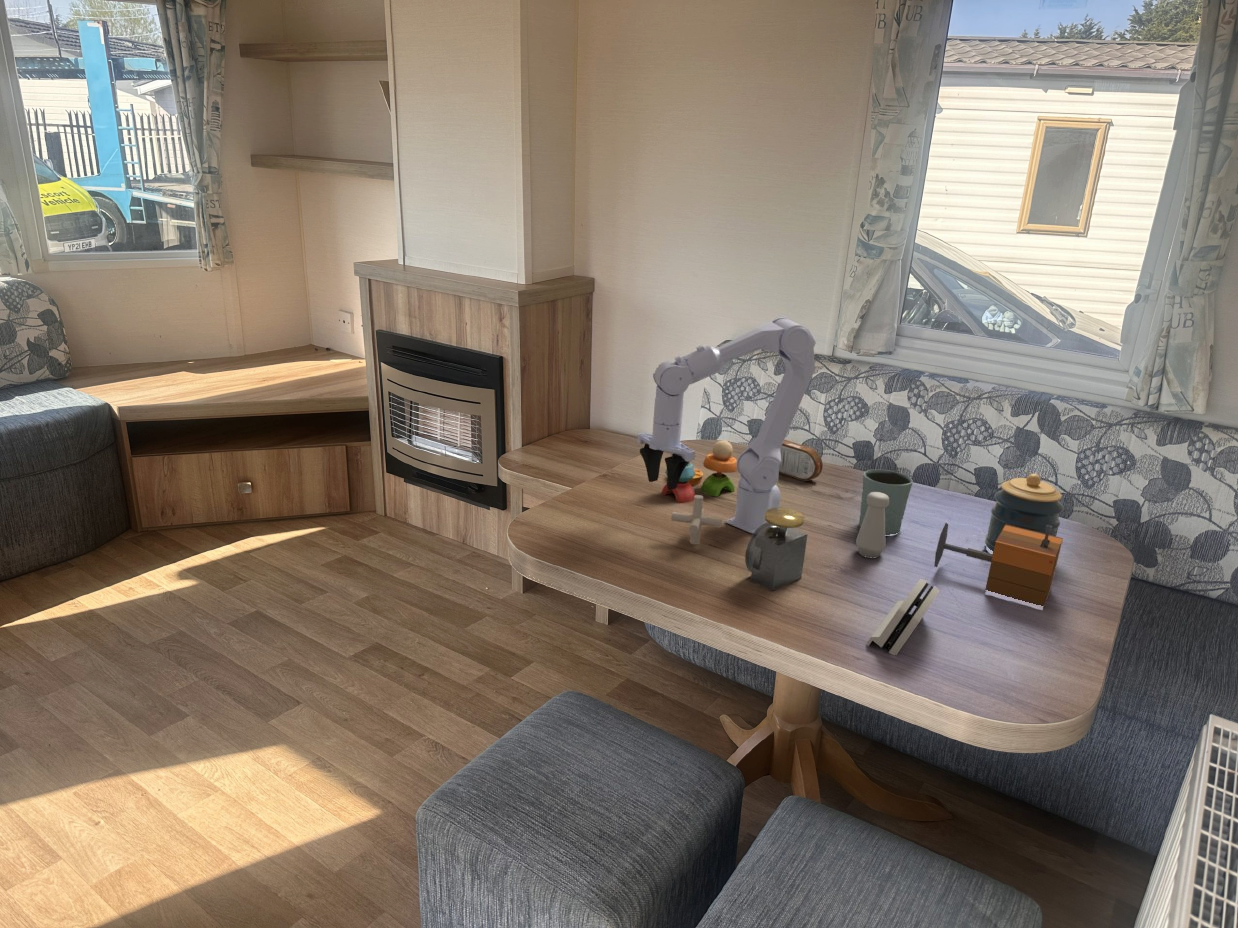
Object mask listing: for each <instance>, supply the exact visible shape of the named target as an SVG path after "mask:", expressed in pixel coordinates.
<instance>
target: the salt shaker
mask: <svg viewBox="0 0 1238 928" xmlns="http://www.w3.org/2000/svg"><path fill="white" fill-rule="evenodd" d="M866 501H867V504H868V508H867V511H866V514H865V517H864V520H863V522H862V525H861V528H860V527H859V531H858V534H857V537H856V540H855V541H856V542H855V543H856V547H857V551H859V552H858V554H859V555H860V554H861V555H863V556H862V557H864V556H866V557H865V558H867V557H869V558H868V559H874V558H873V557H878V558H879V556H880V555H881V554H882V552H883V551H884V550H885V549H886V547H887V546H886V544H887V542H886V537H885V508H886V507H888V505H889V497H888V496H887V495H886V494H884V493H880V492H871V493H869V494H868V496H867V500H866ZM861 555H860V556H861ZM870 557H872V558H870Z"/></svg>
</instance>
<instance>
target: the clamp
mask: <svg viewBox="0 0 1238 928" xmlns="http://www.w3.org/2000/svg"><path fill="white" fill-rule="evenodd" d="M1051 529H1052V526H1050V525H1046V530H1045V531H1046V534H1044V533H1040V532H1035V531H1031V530H1027V529H1023V528H1019V527H1015V526H1010V525H1005V527H1004V528H1003V530H1002V532H1001V533H1000V535H999V537H998V538H997V540H996V543H995V547H994V552H993V554H990V553H988V552H985V551H982V550H977V549H974V548H970V547H968V548H965V547H962V546H961V547H960V546H957V545H954V544H949V543H946V542H947V538H948V531H949V523H947V522H945V523H944V525H943V527H942V530H941V533H940V534H939V535H940V536H939V538H938V543H937V547H936V550H935V555H934V565H933V566H934V567H936V568H938V566H939V564H940V562H941V559H942V556H943V554H944V550H947V551H948V550H949V551H951V552H955V553H958V554H963V555H966V557H969V558H973V559H978V560H981V561H985V562H989V563H990V566H989V571H988V575H987V580H986V584H985V589H984V591H985V590H988V591H991V592H995V593H998V594H1001V595H1005V596H1007V597H1012V598H1014V599H1018V600H1022V601H1025V602H1029V603H1033V604H1036V605H1041V606H1044V605H1046V603H1047V600H1048V598H1049V595H1050V592H1049V591H1051V590H1050V589H1051V588H1052V585H1053V581H1054V576H1055V573H1056V568H1057V565H1058V561H1059V560H1058V559H1059V557H1060V553H1061V548H1062V544H1063V540H1064V538H1063V537H1060V536H1057V535H1056V536H1052V535H1049V533H1050V532H1051ZM1048 594H1049V595H1048ZM1047 597H1048V598H1047ZM1046 599H1047V600H1046ZM1045 602H1046V603H1045ZM1044 607H1045V606H1044Z"/></svg>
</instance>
